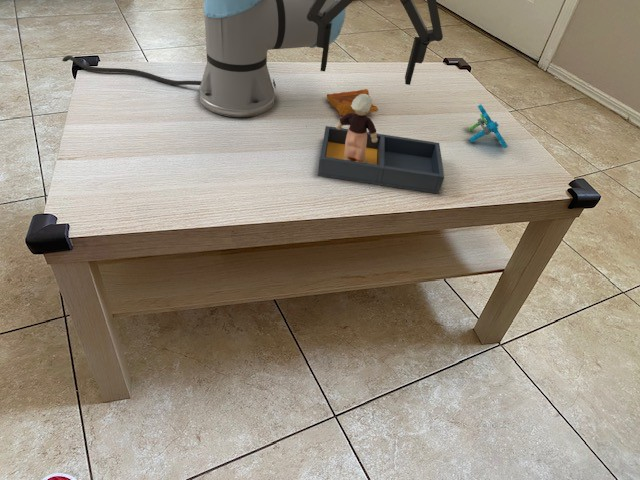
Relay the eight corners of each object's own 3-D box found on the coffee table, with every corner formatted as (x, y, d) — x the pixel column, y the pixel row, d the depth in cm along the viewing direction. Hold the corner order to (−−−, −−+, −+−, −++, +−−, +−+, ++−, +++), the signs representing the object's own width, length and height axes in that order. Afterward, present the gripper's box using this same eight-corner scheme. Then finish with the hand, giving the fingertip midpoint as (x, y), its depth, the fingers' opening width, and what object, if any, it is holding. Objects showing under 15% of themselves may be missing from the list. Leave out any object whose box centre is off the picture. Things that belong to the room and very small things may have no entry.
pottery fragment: (341, 108, 96) (326, 77, 102) (336, 126, 100) (322, 95, 105) (386, 106, 100) (369, 76, 105) (379, 123, 103) (363, 94, 109)
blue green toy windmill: (515, 152, 94) (491, 113, 90) (487, 169, 96) (463, 131, 92) (501, 130, 103) (478, 93, 99) (475, 146, 105) (452, 110, 101)
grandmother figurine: (374, 158, 89) (388, 94, 80) (370, 169, 86) (385, 105, 77) (333, 149, 89) (343, 85, 81) (328, 160, 87) (338, 95, 78)
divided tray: (317, 175, 84) (319, 158, 82) (323, 142, 92) (325, 125, 90) (438, 193, 84) (444, 177, 82) (434, 158, 92) (439, 142, 90)
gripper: (485, -73, 65) (440, 76, 80) (303, -102, 65) (291, 52, 80) (494, -60, 60) (444, 97, 75) (295, -91, 60) (284, 72, 75)
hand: (365, 74), depth 77 cm, fingers open, 13 cm apart
